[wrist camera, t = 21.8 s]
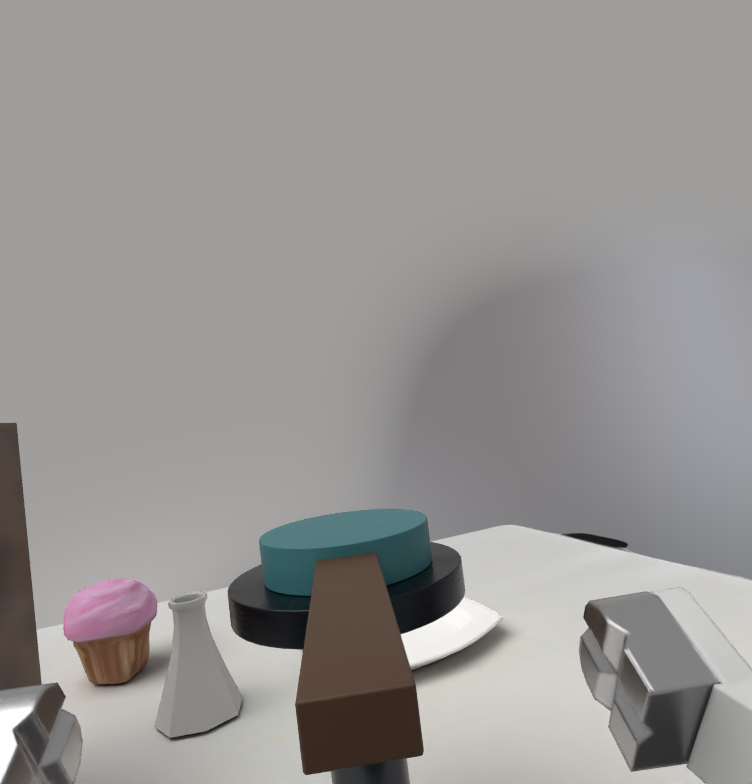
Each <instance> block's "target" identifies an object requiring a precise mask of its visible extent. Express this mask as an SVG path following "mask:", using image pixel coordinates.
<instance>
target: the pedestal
mask: <svg viewBox="0 0 752 784" xmlns="http://www.w3.org/2000/svg"><path fill="white" fill-rule="evenodd" d="M35 685H42V684H41V674H40V664H39V653H38V643H37V632H36V622H35V611H34V602H33V591H32V580H31V571H30V559H29V549H28V538H27V529H26V518H25V508H24V497H23V487H22V476H21V466H20V456H19V445H18V434H17V424H16V423H0V690H3V689H11V688H19V687H27V686H35Z"/></svg>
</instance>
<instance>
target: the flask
mask: <svg viewBox="0 0 752 784" xmlns="http://www.w3.org/2000/svg"><path fill="white" fill-rule="evenodd" d="M206 599H207V593H205V592H202V591H196V592H190V593H185V594H182V595H179V596H176V597H173V598H171V600H170V601H169V602H168V606H169V608H170V609H172V611H173V619H174V634H173V648H172V653H171V657H170V662H169V667H168V672H167V676H166V681H165V685H164V689H163V694H162V698H161V702H160V706H159V710H158V714H157V718H156V723H155V727H156V728H157V729H159V730H160V731H161V732H162V733H164V734H165V735H166V736H167V737H169V738H172V737H177V736H183V735H188V734H193V733H199V732H204V731H208V730H209V729H211V728H213V727H215V726H217V725H219V724H221V723H223V722H225V721H227V720H229V719H231V718H233V717H235V716H237V715H238V714H239V710H240V706H241V702H242V696H241V694H240V692H239V690H238V688H237V686H236V684H235V682H234V680H233V678H232V676H231V675H230V673H229V671H228V669H227V667H226V665H225V663H224V661H223V659H222V657H221V655H220V653H219V651H218V649H217V646H216V644H215V642H214V640H213V638H212V635H211V632H210V629H209V625H208V622H207V619H206V612H205V601H206Z"/></svg>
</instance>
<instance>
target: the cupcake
mask: <svg viewBox="0 0 752 784" xmlns="http://www.w3.org/2000/svg"><path fill="white" fill-rule="evenodd" d="M156 614H157V600H156V597H155V595H154V594H153V593H152V592H151V591H150V590H149V588H148V587H147V586H145V585H144V584H142V583H140V582H138V581H136V580H133V579H128V578H119V579H109V580H106V581H103V582H100V583H98V584H95V585H92V586H89V587H86V588H84V589H82V590H81V591H79V592H77V593H76V594H75V595H74V596H72V597H71V599H70V600H69V602H68V605H67V607H66V610H65V614H64V635H65V636H66V638H67V639H68V640H71V641H73V644H74V647H75V649H76V650H77V652H78V655H79V657H80V659H81V662H82V664H83V667H84V669H85V672H86V674H87V677H88V679H89V681H90V682H92V683H93V684H120V683H123V682H126V681H128V680H130V679H131V678H132V677H133V676H134V675H135V674H136V673H137V672H138V671H139V670H140V669H141V668H143V667H144V666H145V665H146V664H147V662H148V659H149V631H150V625H151V621H152V620H153V619H154V618H155V617H156Z"/></svg>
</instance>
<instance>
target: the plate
mask: <svg viewBox="0 0 752 784" xmlns="http://www.w3.org/2000/svg"><path fill="white" fill-rule="evenodd" d="M502 620H503V617H502V616H501V615H499V614H498V613H496V612H494V611H493V610H491V609H489V608H487V607H485V606H483V605H482V604H479V603H477V602H475V601H473V600H470V599H467V598H465V597H463V599H462V601H461V602H460V604H459V605H458V606H456V607H455V608H454V609H453V610H452V611H451V612H449V613H448V614H446V615H445V616H443V617H441V618H440V619H438V620H436V621H434V622H432V623H430V624H428V625H425V626H423V627H421V628H418V629H415V630H413V631H410V632H407V633H404V634H401V637H402V641H403V644H404V647H405V651H406V654H407V658H408V661H409V664H410V668H411V670H414V669H416V668H419V667H422V666H425V665H428V664H431V663H433V662H436V661H438V660H441V659H443V658H445V657H447V656H448V655H450V654H453V653H455V652H457V651H460V650H461V649H463V648H465V647H467V646H469V645H471V644H473V643H474V642H475V641H477V640H478V639H480V638H481V637H483V636H484V635H485V634H487V633H488V632H489V631H490V630H491V629H493V628H494V627H495V626H496V625H497V624H498V623H499V622H501V621H502Z"/></svg>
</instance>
